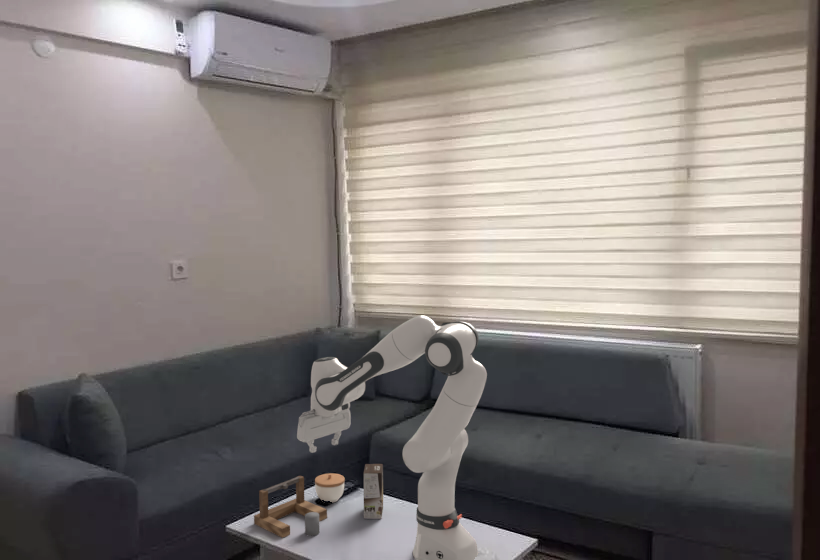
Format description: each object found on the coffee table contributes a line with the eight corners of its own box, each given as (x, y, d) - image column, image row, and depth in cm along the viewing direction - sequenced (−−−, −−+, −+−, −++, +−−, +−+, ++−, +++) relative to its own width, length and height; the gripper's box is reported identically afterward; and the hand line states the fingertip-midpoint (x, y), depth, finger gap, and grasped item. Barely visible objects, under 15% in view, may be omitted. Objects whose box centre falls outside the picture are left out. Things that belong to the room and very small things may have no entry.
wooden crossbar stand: (327, 517, 234) (326, 483, 233) (282, 537, 220) (282, 501, 218) (298, 505, 244) (297, 472, 242) (254, 524, 229) (253, 489, 228)
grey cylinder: (322, 532, 223) (322, 514, 223) (311, 537, 220) (311, 519, 219) (313, 528, 226) (312, 510, 226) (302, 533, 223) (301, 515, 222)
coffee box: (382, 519, 233) (381, 473, 231) (363, 519, 233) (362, 473, 231) (383, 507, 242) (383, 463, 240) (365, 507, 242) (365, 463, 241)
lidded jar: (328, 508, 241) (327, 482, 241) (309, 499, 249) (308, 474, 248) (351, 499, 249) (350, 474, 248) (331, 491, 257) (331, 466, 256)
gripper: (305, 416, 211) (305, 459, 212) (354, 402, 226) (353, 442, 228) (292, 411, 215) (292, 454, 217) (340, 398, 230) (340, 438, 232)
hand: (324, 448), depth 222 cm, fingers open, 8 cm apart
